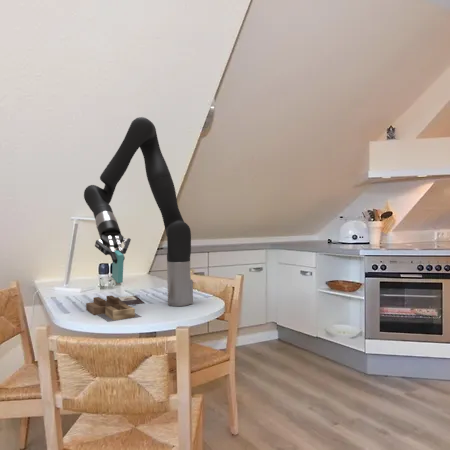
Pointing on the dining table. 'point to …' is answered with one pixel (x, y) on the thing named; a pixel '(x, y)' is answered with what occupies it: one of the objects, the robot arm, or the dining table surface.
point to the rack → (120, 312)
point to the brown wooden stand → (103, 305)
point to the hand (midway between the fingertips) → (119, 261)
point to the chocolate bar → (131, 300)
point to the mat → (115, 320)
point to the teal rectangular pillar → (118, 267)
